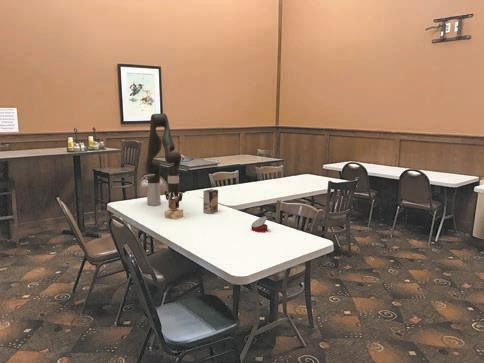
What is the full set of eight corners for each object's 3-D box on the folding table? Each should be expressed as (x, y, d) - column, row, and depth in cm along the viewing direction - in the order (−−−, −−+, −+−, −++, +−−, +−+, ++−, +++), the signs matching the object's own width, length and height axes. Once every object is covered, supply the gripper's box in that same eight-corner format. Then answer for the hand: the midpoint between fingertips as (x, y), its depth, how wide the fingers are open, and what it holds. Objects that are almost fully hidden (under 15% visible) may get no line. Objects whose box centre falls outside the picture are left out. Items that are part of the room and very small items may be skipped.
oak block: (164, 218, 274) (164, 211, 273) (171, 215, 282) (171, 208, 282) (176, 219, 271) (176, 212, 270) (183, 216, 280) (183, 209, 279)
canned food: (264, 239, 247) (264, 227, 240) (249, 235, 250) (248, 224, 244) (270, 226, 255) (270, 215, 249) (255, 223, 258) (254, 211, 252)
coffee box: (210, 214, 285) (210, 191, 283) (203, 213, 289) (203, 190, 286) (218, 211, 293) (218, 189, 290) (211, 210, 296) (211, 188, 294)
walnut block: (168, 208, 275) (168, 199, 274) (173, 206, 279) (173, 198, 278) (174, 209, 272) (174, 200, 271) (179, 207, 277) (178, 199, 276)
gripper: (161, 181, 273) (162, 206, 276) (178, 183, 266) (179, 209, 269) (168, 180, 279) (169, 204, 282) (185, 182, 272) (185, 207, 275)
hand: (173, 206), depth 275 cm, fingers closed on walnut block, 5 cm apart
